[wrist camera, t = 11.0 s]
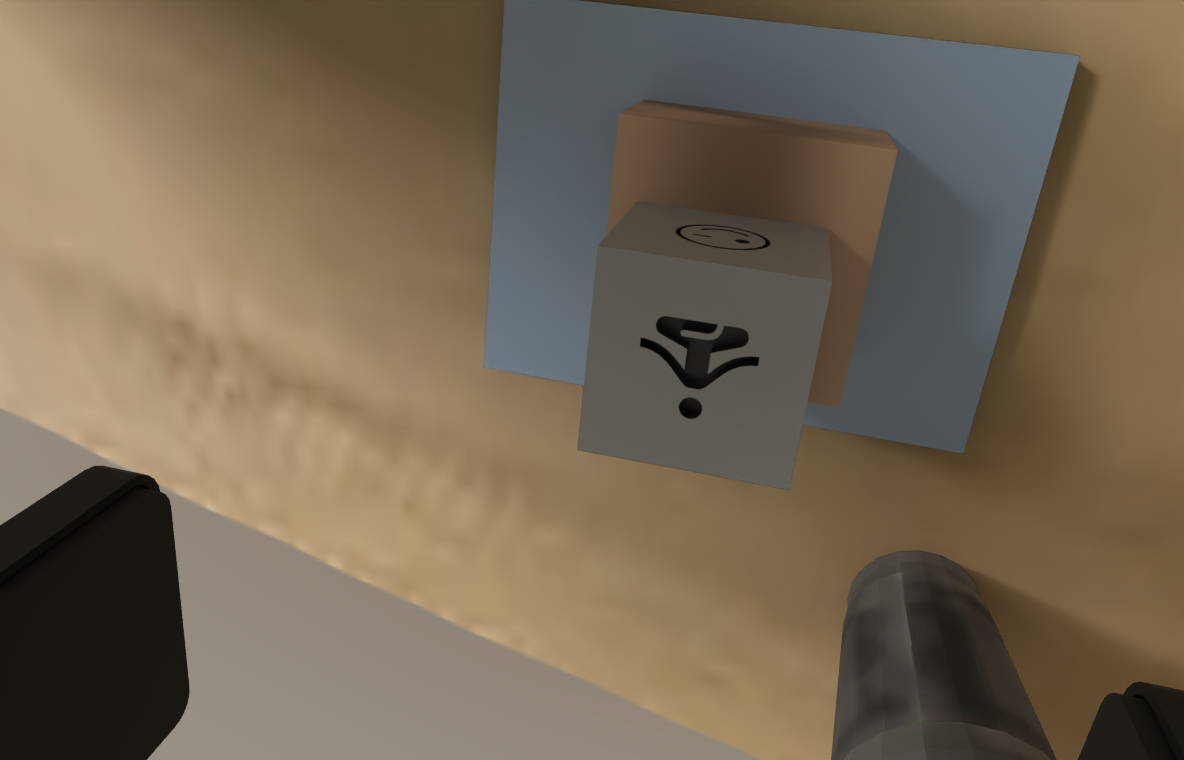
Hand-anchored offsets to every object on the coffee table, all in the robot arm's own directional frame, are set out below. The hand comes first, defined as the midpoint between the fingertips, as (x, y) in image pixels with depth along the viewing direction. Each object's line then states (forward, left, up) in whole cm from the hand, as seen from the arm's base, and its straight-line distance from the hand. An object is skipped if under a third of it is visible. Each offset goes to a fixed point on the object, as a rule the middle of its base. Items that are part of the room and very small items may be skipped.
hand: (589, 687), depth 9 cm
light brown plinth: (0, 0, -21) cm, 21 cm away
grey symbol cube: (0, -1, -17) cm, 17 cm away
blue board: (0, 0, -22) cm, 22 cm away
